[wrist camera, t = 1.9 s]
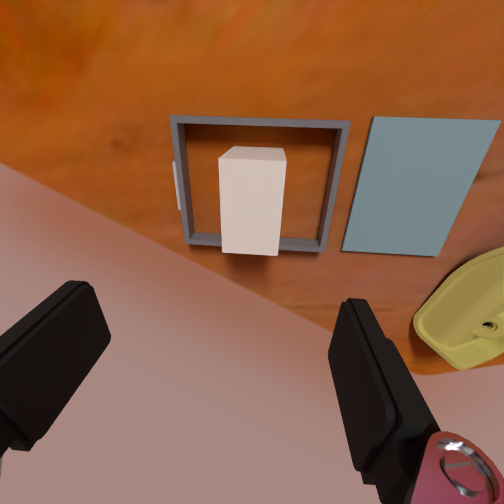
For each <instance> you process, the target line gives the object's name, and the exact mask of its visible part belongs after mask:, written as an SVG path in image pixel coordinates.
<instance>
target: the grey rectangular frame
mask: <svg viewBox="0 0 504 504" xmlns="http://www.w3.org/2000/svg"><path fill="white" fill-rule="evenodd" d="M169 116H170V125H171V133H172V141H173V149H174V157H175V161H173V162H172V163H173V171H174V179H175V187H176V194H177V202H178V210H181V214H182V222H183V230H184V238H185V244H195V245H211V246H222V235H221V234H213V233H196V232H194V222H193V211H192V201H191V191H190V181H189V171H188V161H187V151H186V141H185V130H184V123H193V124H223V125H252V126H282V127H312V128H337V133H336V138H335V144H334V150H333V155H332V161H331V166H330V172H329V178H328V183H327V189H326V194H325V200H324V206H323V211H322V217H321V222H320V228H319V234H318V239H317V240H314V239H297V238H279V248H278V250H292V251H308V252H324V253H325V248H326V243H327V238H328V233H329V228H330V223H331V218H332V213H333V208H334V203H335V198H336V193H337V188H338V183H339V178H340V173H341V168H342V163H343V158H344V153H345V148H346V144H347V139H348V134H349V129H350V124H351V121H342V120H311V119H280V118H248V117H217V116H185V115H169Z"/></svg>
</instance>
